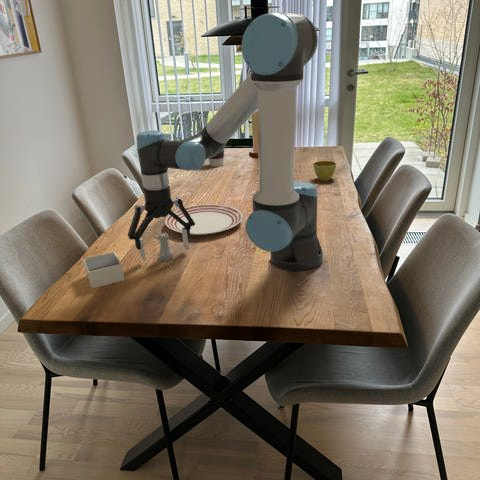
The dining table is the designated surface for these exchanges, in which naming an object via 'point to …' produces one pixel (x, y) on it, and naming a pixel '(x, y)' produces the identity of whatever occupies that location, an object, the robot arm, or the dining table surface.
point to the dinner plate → (206, 219)
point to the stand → (103, 270)
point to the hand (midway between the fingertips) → (165, 253)
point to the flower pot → (324, 169)
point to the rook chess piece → (164, 248)
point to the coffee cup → (217, 160)
